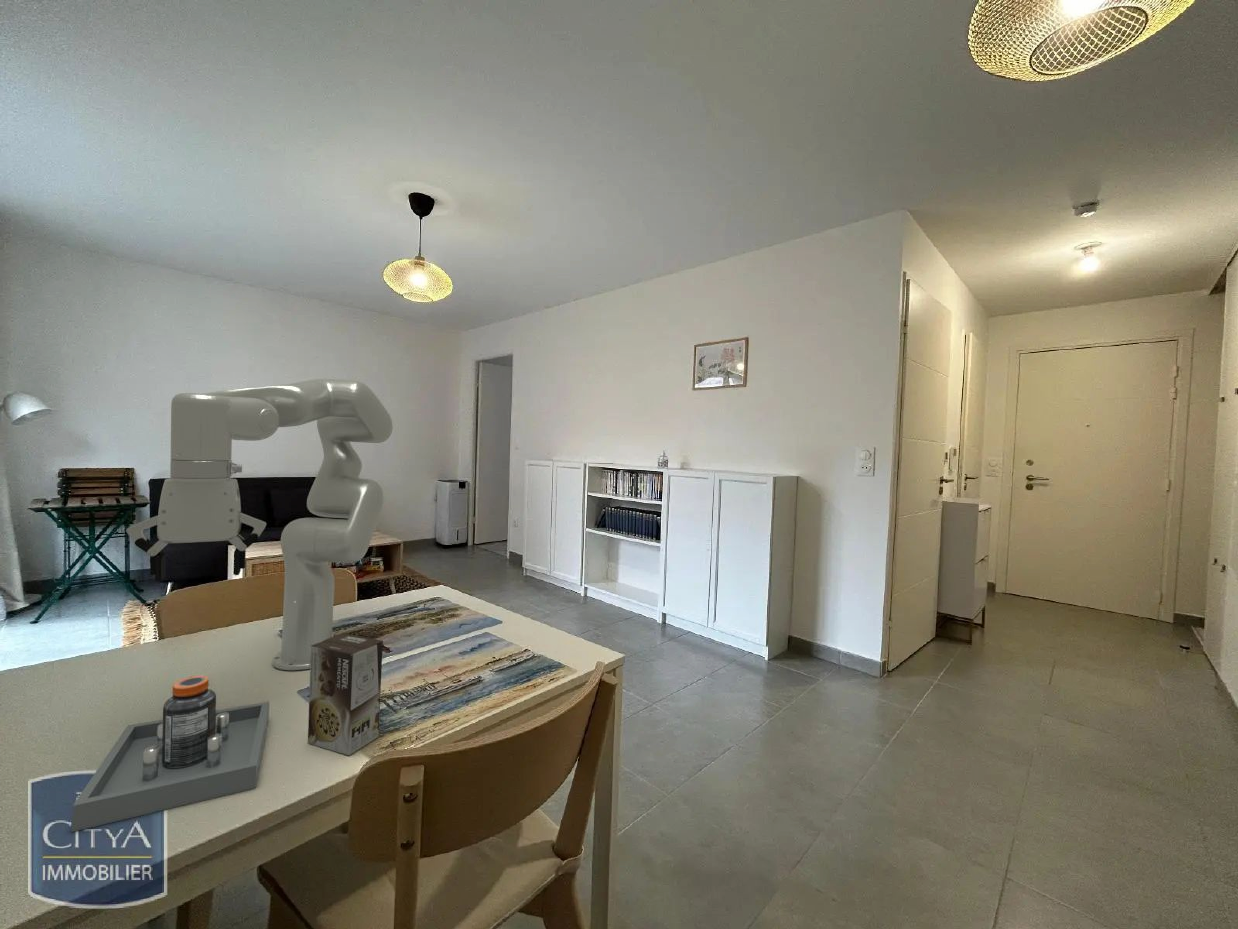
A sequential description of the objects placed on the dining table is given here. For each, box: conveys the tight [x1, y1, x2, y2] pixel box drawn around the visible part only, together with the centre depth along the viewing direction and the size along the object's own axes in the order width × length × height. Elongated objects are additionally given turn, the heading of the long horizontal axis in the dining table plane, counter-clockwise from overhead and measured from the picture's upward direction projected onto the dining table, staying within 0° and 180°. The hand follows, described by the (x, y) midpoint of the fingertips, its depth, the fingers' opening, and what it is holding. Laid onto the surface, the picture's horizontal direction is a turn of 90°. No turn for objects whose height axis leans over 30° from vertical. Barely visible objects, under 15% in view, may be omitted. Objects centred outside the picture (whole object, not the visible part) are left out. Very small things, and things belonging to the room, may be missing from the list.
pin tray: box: [71, 701, 270, 833], centre depth 73 cm, size 18×20×5 cm
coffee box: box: [307, 633, 384, 756], centre depth 82 cm, size 9×6×16 cm
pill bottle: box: [162, 675, 217, 768], centre depth 73 cm, size 6×6×11 cm
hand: (199, 576), depth 81 cm, fingers open, 9 cm apart
